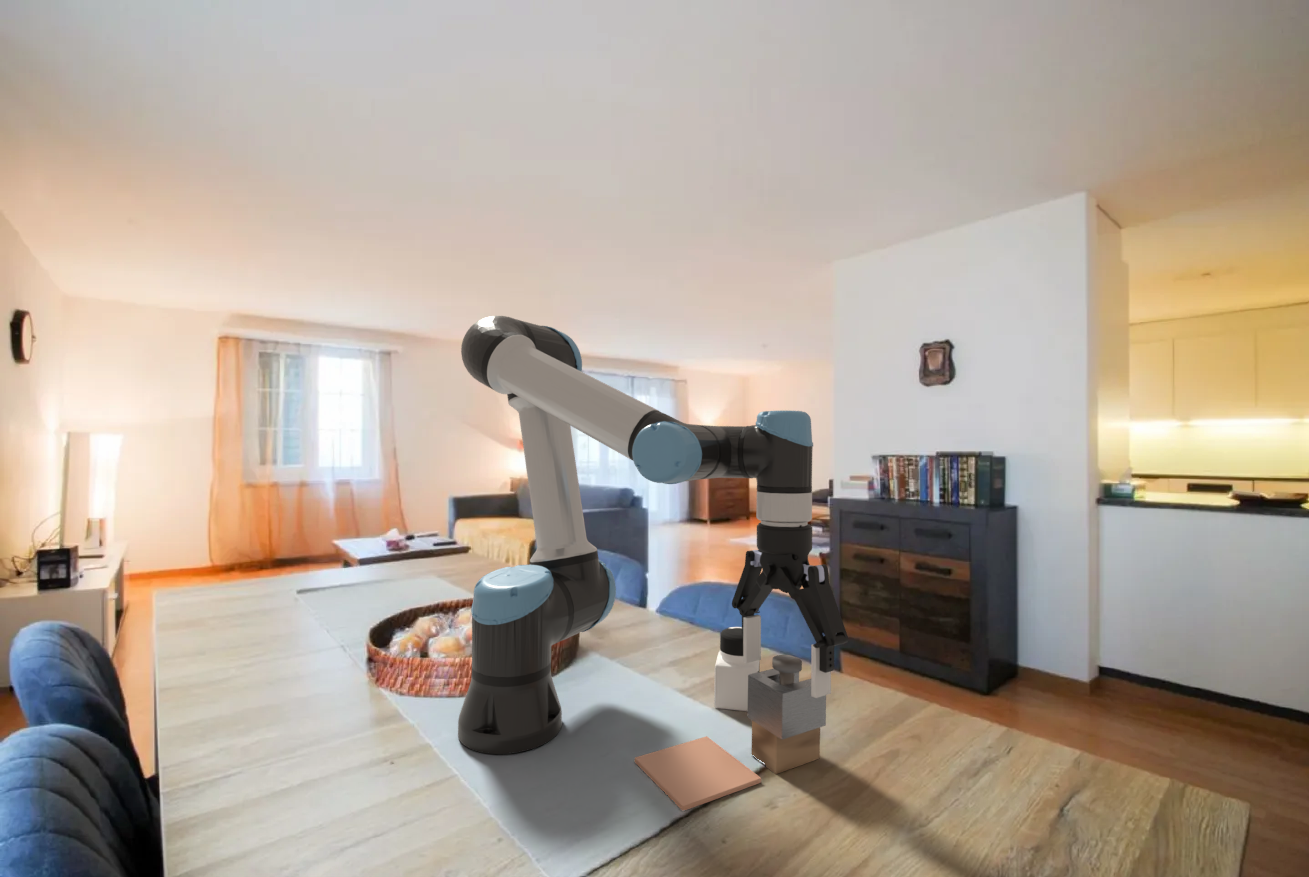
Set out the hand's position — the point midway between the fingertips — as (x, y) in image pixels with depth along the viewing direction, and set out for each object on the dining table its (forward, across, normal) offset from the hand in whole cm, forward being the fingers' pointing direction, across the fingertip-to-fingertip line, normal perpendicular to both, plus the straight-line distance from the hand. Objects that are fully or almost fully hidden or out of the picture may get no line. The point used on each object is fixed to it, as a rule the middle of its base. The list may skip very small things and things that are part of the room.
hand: (784, 676), depth 81 cm
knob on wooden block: (+12, 0, -1) cm, 12 cm away
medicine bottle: (+12, +18, -6) cm, 22 cm away
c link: (+7, 0, -1) cm, 7 cm away
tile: (+11, +4, +12) cm, 17 cm away
